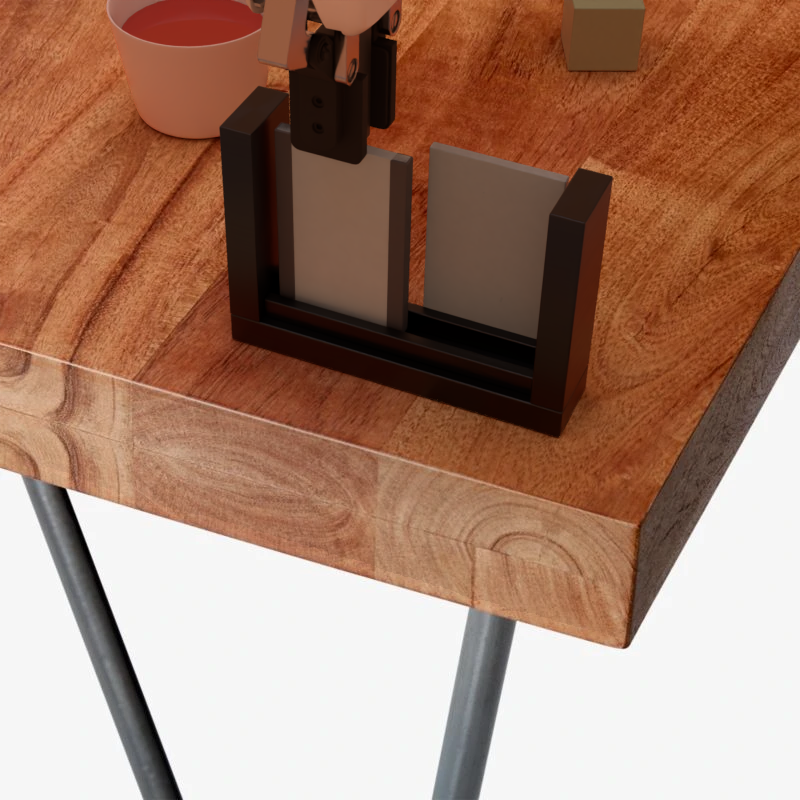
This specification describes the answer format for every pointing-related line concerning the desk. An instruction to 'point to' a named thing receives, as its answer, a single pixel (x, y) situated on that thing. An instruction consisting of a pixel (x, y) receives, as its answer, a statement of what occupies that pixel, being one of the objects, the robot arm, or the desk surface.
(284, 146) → the sash
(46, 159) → the desk surface
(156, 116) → the candle
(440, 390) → the window frame
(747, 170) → the desk surface
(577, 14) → the block
